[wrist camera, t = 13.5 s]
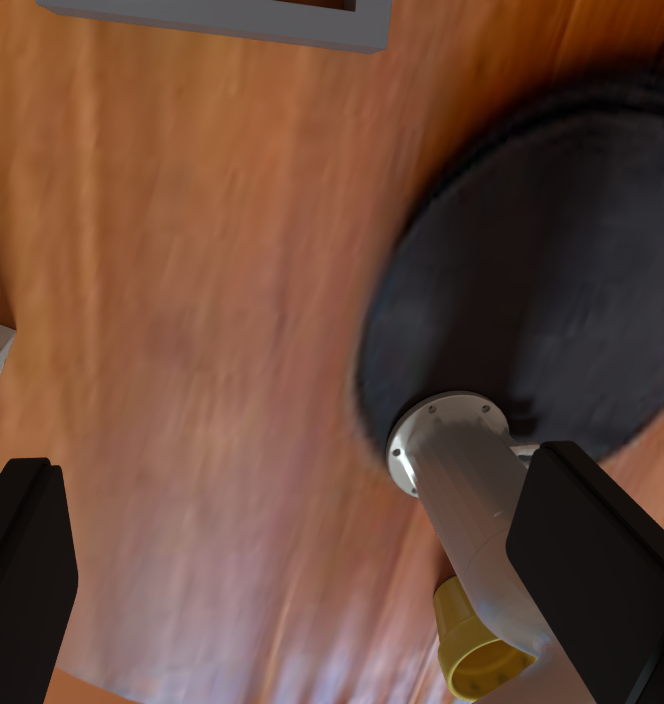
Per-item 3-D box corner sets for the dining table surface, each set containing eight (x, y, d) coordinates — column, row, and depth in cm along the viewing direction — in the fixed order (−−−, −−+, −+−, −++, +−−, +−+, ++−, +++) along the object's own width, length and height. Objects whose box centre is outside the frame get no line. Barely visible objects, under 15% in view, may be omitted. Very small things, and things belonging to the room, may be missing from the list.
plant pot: (431, 560, 59) (466, 639, 51) (510, 561, 62) (556, 636, 53) (407, 623, 63) (435, 705, 55) (482, 621, 66) (521, 700, 57)
